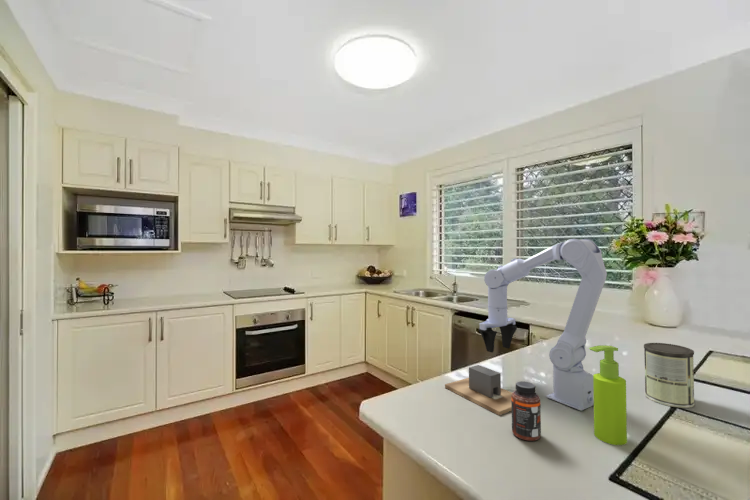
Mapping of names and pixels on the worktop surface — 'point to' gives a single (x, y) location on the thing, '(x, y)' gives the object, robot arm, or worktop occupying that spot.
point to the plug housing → (484, 381)
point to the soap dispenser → (609, 399)
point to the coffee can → (669, 374)
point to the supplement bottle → (526, 412)
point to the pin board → (482, 397)
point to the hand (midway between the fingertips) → (498, 349)
